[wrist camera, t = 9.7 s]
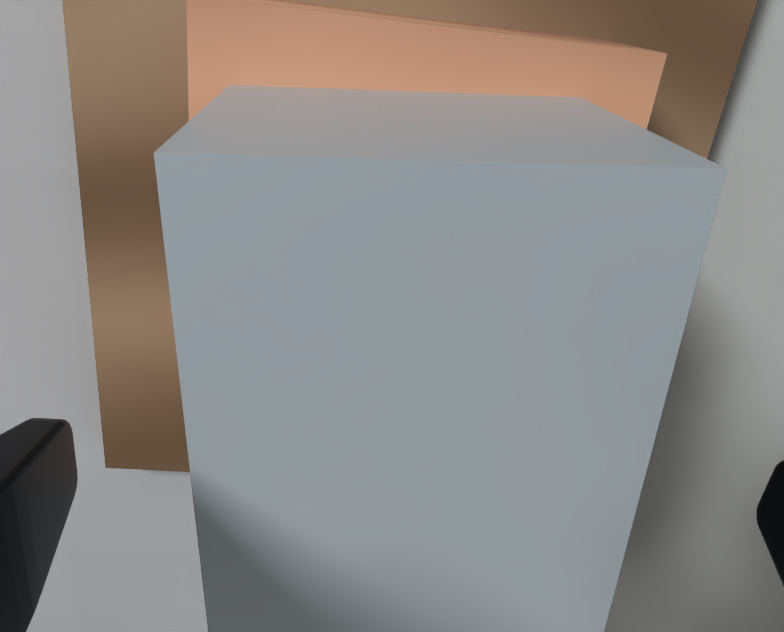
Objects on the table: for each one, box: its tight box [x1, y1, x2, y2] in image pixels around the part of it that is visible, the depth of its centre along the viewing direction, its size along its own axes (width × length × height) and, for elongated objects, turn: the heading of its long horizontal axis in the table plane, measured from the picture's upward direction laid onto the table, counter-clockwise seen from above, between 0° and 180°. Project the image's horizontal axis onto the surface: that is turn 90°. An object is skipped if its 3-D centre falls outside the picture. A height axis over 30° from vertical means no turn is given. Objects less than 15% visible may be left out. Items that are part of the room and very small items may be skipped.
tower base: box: [62, 0, 758, 472], centre depth 15 cm, size 14×14×4 cm
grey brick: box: [154, 85, 726, 632], centre depth 11 cm, size 8×6×5 cm
